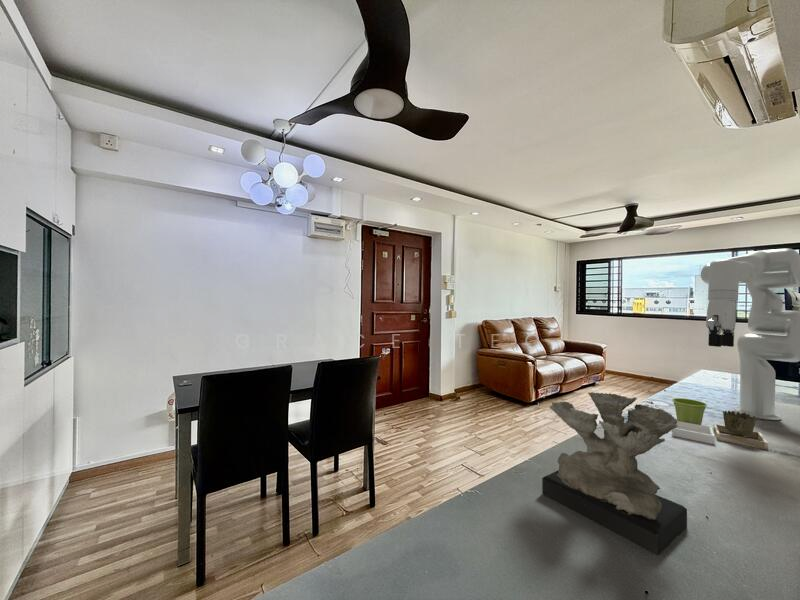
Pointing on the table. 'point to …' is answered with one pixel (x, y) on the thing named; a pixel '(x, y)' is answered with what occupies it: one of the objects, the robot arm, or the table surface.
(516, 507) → the table surface
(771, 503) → the table surface
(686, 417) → the plant pot
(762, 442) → the birch frame
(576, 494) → the coral
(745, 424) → the cup
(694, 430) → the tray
